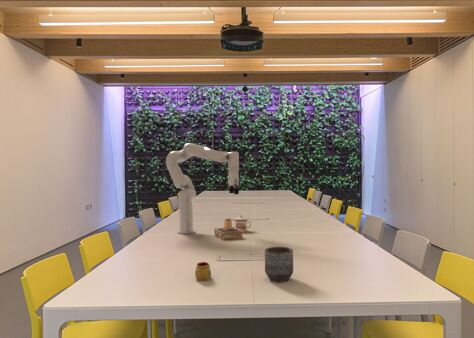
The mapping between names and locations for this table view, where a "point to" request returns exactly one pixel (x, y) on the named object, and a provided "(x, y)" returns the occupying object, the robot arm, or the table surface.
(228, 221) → the block
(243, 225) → the teacup with lid
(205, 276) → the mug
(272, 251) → the planter
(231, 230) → the oak box
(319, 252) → the table surface
